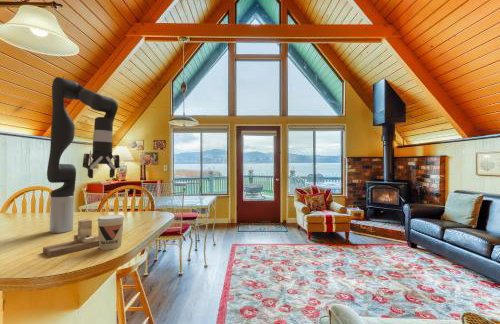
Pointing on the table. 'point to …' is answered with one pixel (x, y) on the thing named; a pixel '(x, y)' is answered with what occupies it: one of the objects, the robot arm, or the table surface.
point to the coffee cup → (110, 231)
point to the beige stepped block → (84, 231)
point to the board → (69, 247)
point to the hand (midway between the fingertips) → (101, 177)
